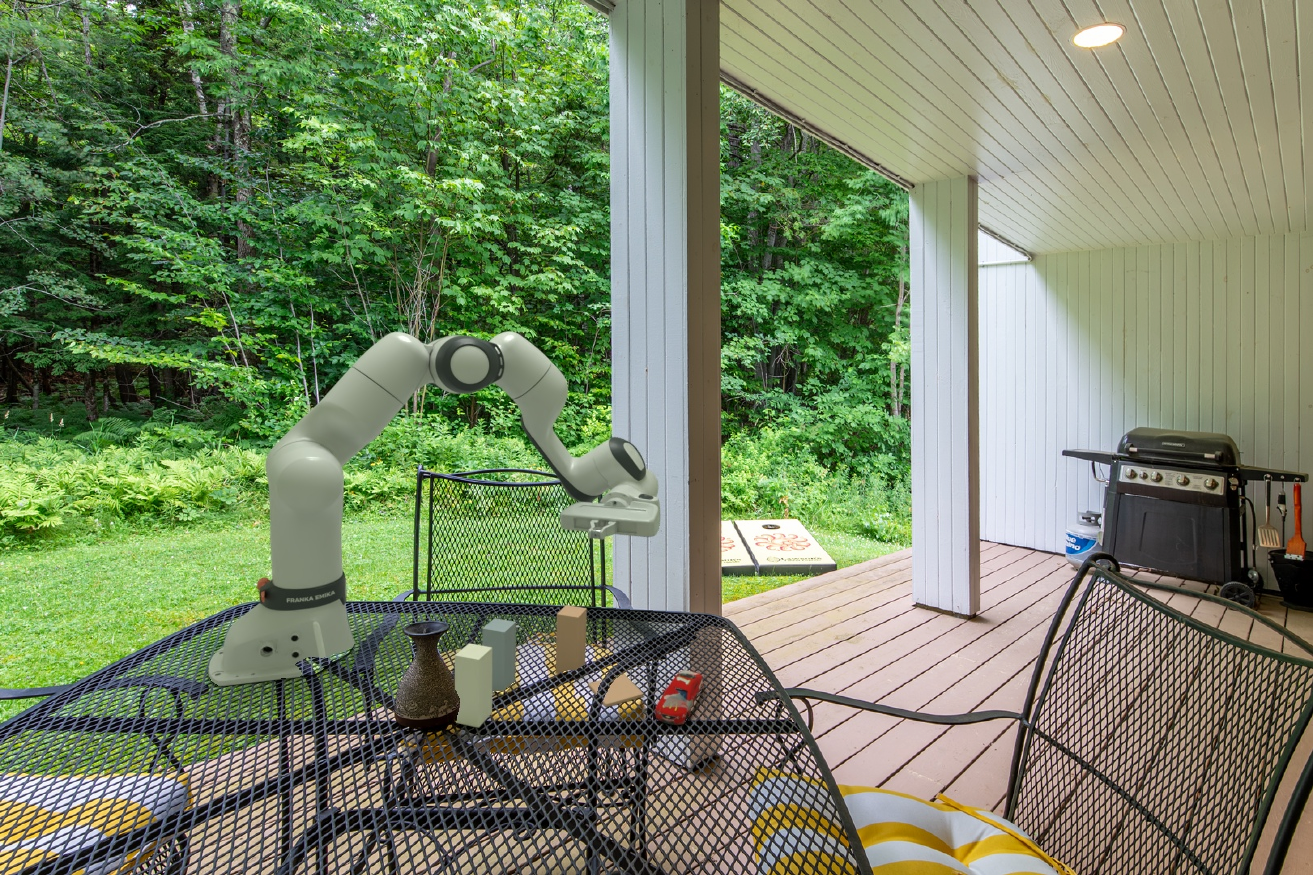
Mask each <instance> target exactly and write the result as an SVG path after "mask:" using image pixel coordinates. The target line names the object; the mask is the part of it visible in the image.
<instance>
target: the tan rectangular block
mask: <svg viewBox="0 0 1313 875" xmlns="http://www.w3.org/2000/svg"><path fill="white" fill-rule="evenodd" d="M587 610H588V609H587V608H586V607H579V606H573V605H567V604H566V605H565V606H563V608H561V610H559V611H558V612H557V614H556V634H555V635H556V640H555V641H556V642H555V644H556V645H555V646H556V648H555V674H560V673H559V672H562V671H567V670H577V669H578V668H580V667H581V666H583V665H585V666H586V651H587V650H586V649H587V648H586V647H587V645H586V643H587V641H586V640H587V615H588V614H587Z"/></svg>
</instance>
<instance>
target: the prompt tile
mask: <svg viewBox="0 0 1313 875" xmlns="http://www.w3.org/2000/svg"><path fill="white" fill-rule="evenodd" d="M619 675H620V676H619ZM619 675H618V676H619V677H618V678H616V679H615V680H614V682H613V683H612V684H611V685H610V688H609V690H608V692H607V693H606V696H605V698H604V700H603V703H602V705H603V706H604V707H605V708H608V707H611V706H615V705H619V704H623V703H625V702H626V703H627V702H629V701H633V700H637V699H640V698H644V695H645V694H644V692H643V691H641V690H640V688H639V687H638V686H637V685H636V684H635V683H634V682H633V681H632V680H631V679H630V678H629V677H628V676H627V675H626V673H625V674H624V673H623V674H619ZM602 680H603V679H600V680H596V681H593V682H588V683H587V687H588V688H589V689H590V690H591V691H592V693H593V694H594V696H596V695H597V691H598V687H599V685H600V683H601V681H602Z"/></svg>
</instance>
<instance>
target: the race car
mask: <svg viewBox="0 0 1313 875" xmlns="http://www.w3.org/2000/svg"><path fill="white" fill-rule="evenodd" d="M702 687H703V688H704V679H703V676H702V674H700V673H699V672H695V671H692V670H686V669H684V670H679V672H678V673H677V674H676V675H675V677H673V679H672V680H671V682H670V683H669V684H668V686H667V688H666V689H662V690H661V691H662V692H663V694H662V695H661V698H660V699H659V701H658V702H657V704H656V706H655V712H654V713H655V714H654V715H655V718H656V719H657V720H659V721H660V722H661V723H664V724H668V725H673V726H675V725H676V726H679V725H684V723H685V721H686V719H687V718H688V719H689V718H690V717H691V715H690V710H691V708H692V707H693V705H694V700H695V699H696V697H697V695H698V693H699V692H700V691H701V688H702Z"/></svg>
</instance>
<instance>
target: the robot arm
mask: <svg viewBox="0 0 1313 875" xmlns="http://www.w3.org/2000/svg"><path fill="white" fill-rule="evenodd" d="M492 384H495V385H496V386H497V387H499V388H501V389H502V390H503V391H504V393H505V394H507V396H508V397H509V398H511V399H512V400H513V402H514V403H515V404H516V405H517V407H518V409H519V411H520V413H521V417H520V426H521V428H522V429H523V431H524V433H525V434H526V437H527V438H528V440H530V442H531V444H532V445H533V446H534V448H535V450H537V451H538V453H539V454H540V455H541V457H542V459H544V461H545V462H546V463H547V465H548V466H549V467H550V469H551V470H552V471H553V473H554V474H555V476H557V478H558V480H559V482H560V484H561V486H562V488H563V489H564V491H565V493H566V494H567V495H568V497H570V498H571V499H573V500H575V501H577V502H574V503H573V504H571V505H569V506H567V507H566V508H564V509H563V510H562V511H561V512H560V513H559V521H560V522H559V523H560V526H561V528H562V529H563V530H567V531H578V532H587V533H588V538H589V539H595V540H596V539H597V540H604V539H605V538H607V537H609V536H612V535H620V536H630V537H631V536H632V537H639V538H651V537H655V536H656V535H657V534H658V532H659V530H660V525H661V506H660V505H661V504H660V500H659V497H658V493H659V480H658V479H657V477H656V475H655V473H654V472H652V471H651V470H650V469H648V468H647V467H646V464H645V463H646V462H645V460H644V458H643V455H642V454H641V452H640V451H639V450H638V448H637V446H636V445H634V444H633V443H632V442H630V441H629V440H626V439H624V438H623V437H618V436H617V437H616V436H612V437H609V439H607V440H605V441H604V442H602V443H601V444H598V445H597V446H596V447H595V448H592V449H591V450H589V451H588V452H586V453H585V454H582V456H579V457H576V456H575V457H574V456H573V455H572V454H570V452H569V451H568V450H567V447H565V445H564V444H563V442H562V441H561V440H560V438H559V437H558V436H557V434H556V433H555V431H554V428H553V425H554V424H555V422H556V420H557V419H558V418H559V416H560V415H561V413H562V411H563V408H564V407H565V405H566V401H567V399H568V393H569V387H568V382H567V379H566V377H565V376H564V374H563V372H562V371H561V370H560V369H559V368H558V367H557V366H556V365H555V364H554V363H553V362H552V361H551V360H550V359H549V358H548V357H547V356H546V354H544V353H543V352H542V351H541V350H540V349H539V348H538V347H536V346H535V345H534V344H533V343H531V342H530V341H529V340H527V338H525V337H523V336H522V335H521V334H519V333H517V332H515V331H504V332H501V333H498V334H497V335H495V336H493V337H492V338H491V339H490V340H489V341H488V340H485V339H482V338H479V337H475V336H472V335H461V334H459V335H458V334H452V335H447V336H444V337H441V338H437V339H434V340H432V341H429V342H425V343H423V342H422V341H420V339H418V338H417V337H415V336H413V335H412V334H408V333H405V332H402V331H394V332H390V333H388V334H386V335H385V336H383V337H382V338H380V339H379V340H378V341H377V342H376V343H374V344H373V345H372V346H371V347H370V348H369V349H367V351H365V352H364V353H363V354H362V355H361V356H360V357H359V358H358V359H357V360H356V361H354V363H353V364H352V366H350V367H349V369H348V370H347V371H346V372H345V373H344V374H343V375H342V377H341V378H340V379H339V380H338V381H336V384H334V385H333V387H332V388H331V389H330V390H329V391H328V392H327V393H326V395H324V397H323V398H322V399H321V400H320V401H319V402H318V403H317V404H316V405H315V406H314V407H313V408H312V409H311V410H310V411H308V412H307V413H306V414H305V415H304V416H303V417H301V419H299V421H298V422H296V424H295V425H293V427H291V428H290V429H289V431H287V432H286V434H284V436H283V437H282V438H281V439H279V440H278V442H276V444H275V445H274V446H273V447H272V448H271V449H270V451H269V452H268V454H267V456H266V459H265V466H264V468H265V472H266V478H267V483H268V496H269V529H270V530H269V531H270V532H269V534H270V536H269V537H270V538H269V539H270V557H271V576H272V577H271V578H272V579H269V578H268V577H261V578H259V579H258V580H257V582H256V584H257V585H256V588H257V590H258V592H259V593H258V594H259V595H258V596H259V597H258V598H259V603H258V604H257V605H256V606H254V607H252V609H250V610H249V611H247V612H246V613H244V614H243V615H242V616H241V617H239V618H238V619H237V620H236V621H235V622H233V624H231V626H230V627H229V629H228V631H227V633H226V635H225V639H224V643H223V646H222V647H221V648H220V649H218V650H217V651H216V652H215V653H214V654H213V655H212V657H211V659H210V660H209V664H208V674H209V675H208V674H207V675H208V678H209V677H210V679H211V680H212V681H213V682H214V683H215V684H217V685H218V686H219V687H226V686H233V685H242V684H251V683H259V682H269V681H274V680H275V681H277V680H282V679H281V678H286V679H293V678H300V676H301V670H299V667H297V666H295V664H296V663H297V662H299V661H303V659H305V658H308V657H319V658H324V657H329V656H331V655H333V654H336V653H340V652H344V651H346V650H348V649H349V648H352V647H353V645H354V644H355V645H356V641H355V639H354V637H353V633H352V631H351V628H350V625H349V621H348V616H347V610H346V603H347V597H348V594H347V592H348V590H347V588H348V587H347V577H346V574H345V571H344V570H343V549H342V548H343V546H342V545H343V542H342V541H343V540H342V525H343V515H344V512H343V511H344V488H345V487H344V486H345V481H344V480H345V477H344V476H345V474H344V469H343V467H344V466H345V465H346V464H347V463H348V462H349V461H350V460H351V459H352V458H354V456H355V455H357V454H358V453H359V452H360V451H361V450H363V449H364V448H365V447H366V446H367V445H368V444H370V443H372V442H373V441H374V440H376V439H377V438H378V437H379V435H380V434H381V433H382V432H383V430H384V429H386V428H387V426H388V425H389V424H390V422H391V421H392V420H393V419H394V418H395V417H396V415H397V414H398V413H399V412H400V410H401V409H402V408H403V407H404V406H405V404H406V403H407V402H408V401H409V400H410V399H411V397H412V396H413V394H414V393H415V392H417V391H418V390H419V389H420V388H422V387H423V386H425V385H432V386H433V387H436V388H438V389H441V390H443V391H444V392H448V393H451V394H457V395H459V394H460V395H461V394H465V395H466V394H467V395H469V394H474V393H477V392H479V391H482V390H484V389H485V388H487V387H488V386H490V385H492ZM607 491H608V492H607ZM604 493H605V494H604ZM603 494H604V495H603ZM602 495H603V496H602ZM600 496H602V498H601V499H600V501H599V502H594V501H595V500H596V499H597V498H599V497H600ZM210 679H209V680H210ZM215 684H214V685H215ZM217 685H216V686H217ZM218 686H217V687H218Z"/></svg>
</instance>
